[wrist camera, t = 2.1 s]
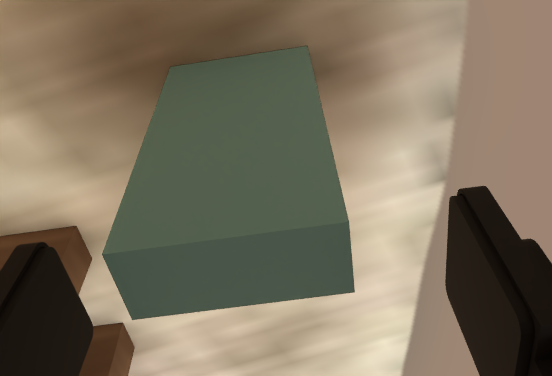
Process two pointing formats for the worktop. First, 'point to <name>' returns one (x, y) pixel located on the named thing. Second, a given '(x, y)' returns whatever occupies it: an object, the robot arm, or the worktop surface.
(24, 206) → the worktop surface
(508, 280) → the robot arm
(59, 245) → the walnut domino
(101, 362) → the walnut domino
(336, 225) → the teal domino
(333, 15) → the worktop surface
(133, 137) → the worktop surface
